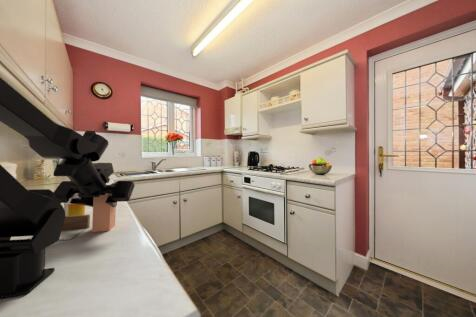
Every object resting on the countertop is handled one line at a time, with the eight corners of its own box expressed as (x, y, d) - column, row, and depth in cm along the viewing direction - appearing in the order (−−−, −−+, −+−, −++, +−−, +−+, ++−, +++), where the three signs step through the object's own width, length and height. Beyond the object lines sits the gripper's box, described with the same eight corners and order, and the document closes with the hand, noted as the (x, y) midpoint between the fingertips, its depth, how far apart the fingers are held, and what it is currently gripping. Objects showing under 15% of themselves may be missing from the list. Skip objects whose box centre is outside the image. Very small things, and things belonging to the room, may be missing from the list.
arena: (71, 239, 47) (71, 224, 47) (26, 243, 45) (27, 227, 45) (89, 227, 56) (89, 214, 56) (53, 229, 53) (53, 216, 53)
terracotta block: (109, 230, 53) (110, 187, 54) (92, 232, 52) (93, 188, 52) (115, 225, 58) (116, 185, 58) (99, 226, 56) (100, 185, 57)
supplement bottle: (88, 218, 64) (89, 191, 64) (73, 223, 59) (74, 194, 59) (75, 217, 65) (76, 191, 65) (59, 223, 59) (59, 194, 59)
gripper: (132, 153, 53) (145, 185, 64) (61, 152, 50) (86, 186, 60) (119, 183, 45) (135, 214, 56) (32, 184, 42) (68, 216, 53)
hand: (107, 206), depth 56 cm, fingers closed on terracotta block, 5 cm apart
